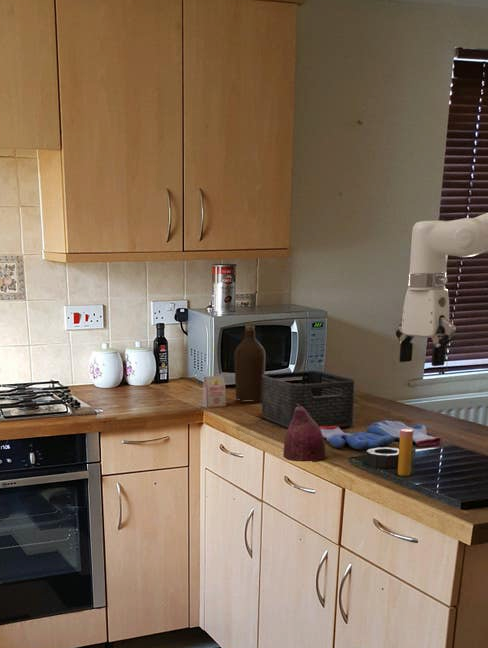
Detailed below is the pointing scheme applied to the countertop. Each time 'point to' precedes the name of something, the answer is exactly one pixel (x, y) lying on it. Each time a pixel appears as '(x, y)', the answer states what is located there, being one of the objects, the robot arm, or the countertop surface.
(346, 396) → the storage bin
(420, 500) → the countertop surface
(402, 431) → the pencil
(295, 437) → the vegetable
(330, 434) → the pair of gloves
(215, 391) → the pink carton
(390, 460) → the tape
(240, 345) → the brown bottle
